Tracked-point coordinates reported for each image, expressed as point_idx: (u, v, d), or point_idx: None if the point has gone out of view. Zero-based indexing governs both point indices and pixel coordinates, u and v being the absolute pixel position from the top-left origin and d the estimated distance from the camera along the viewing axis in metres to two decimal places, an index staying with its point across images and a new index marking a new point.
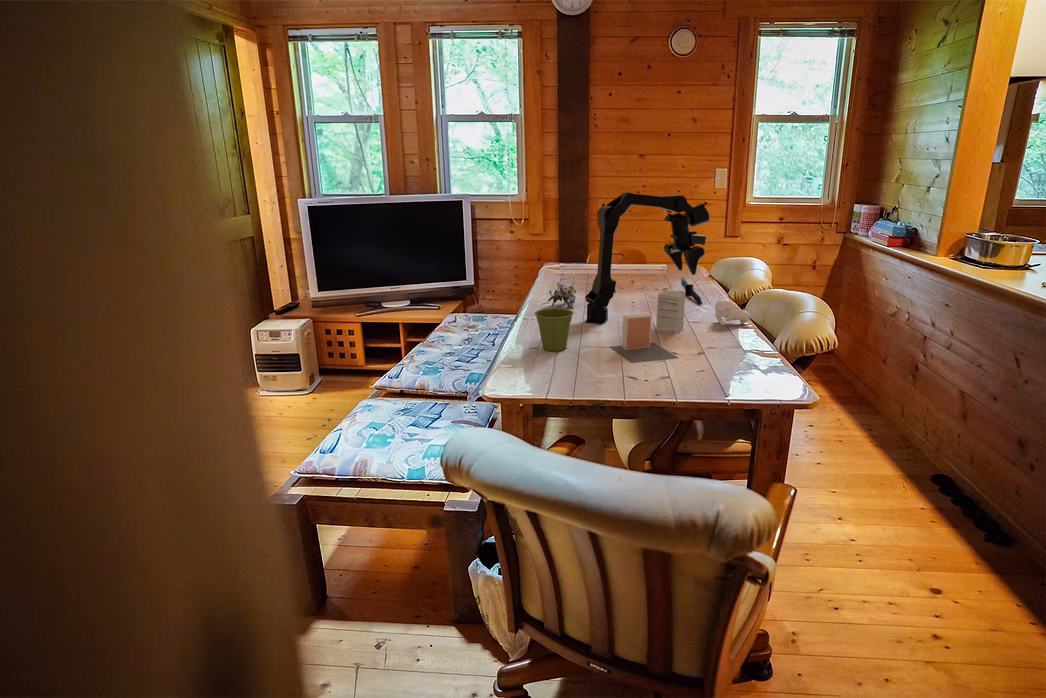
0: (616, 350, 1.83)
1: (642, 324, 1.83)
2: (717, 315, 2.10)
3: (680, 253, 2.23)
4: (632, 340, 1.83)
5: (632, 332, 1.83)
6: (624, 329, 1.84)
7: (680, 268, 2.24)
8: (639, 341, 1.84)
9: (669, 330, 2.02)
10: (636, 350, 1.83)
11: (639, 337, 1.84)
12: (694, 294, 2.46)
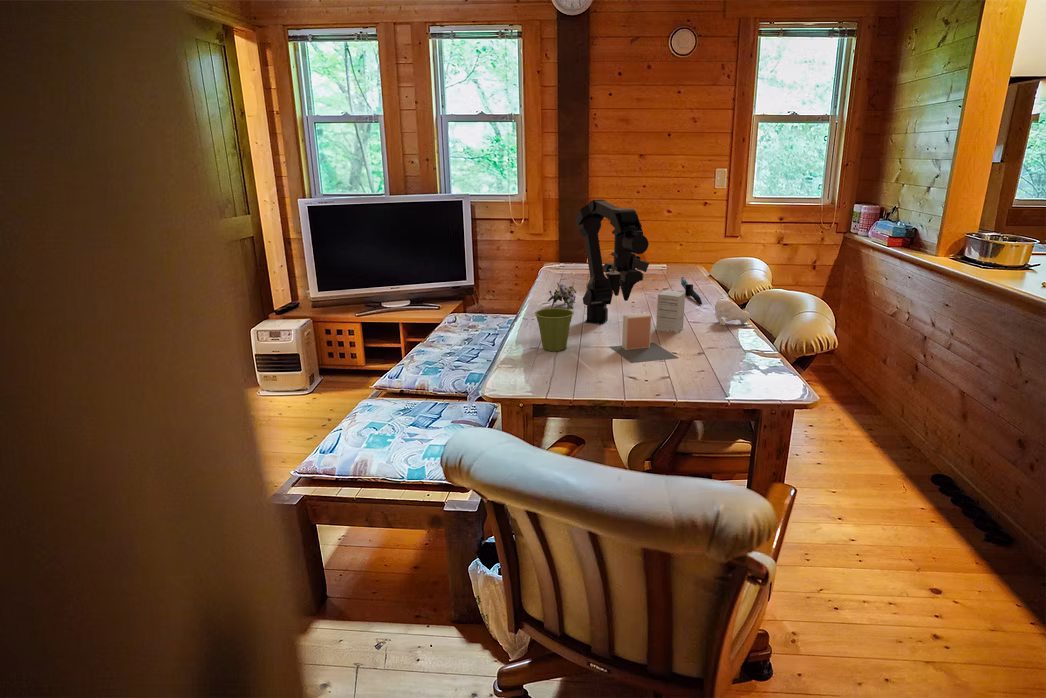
0: (616, 350, 1.83)
1: (642, 324, 1.83)
2: (717, 315, 2.10)
3: (620, 277, 2.00)
4: (632, 340, 1.83)
5: (632, 332, 1.83)
6: (624, 329, 1.84)
7: (616, 293, 2.01)
8: (639, 341, 1.84)
9: (669, 330, 2.02)
10: (636, 350, 1.83)
11: (639, 337, 1.84)
12: (694, 294, 2.46)
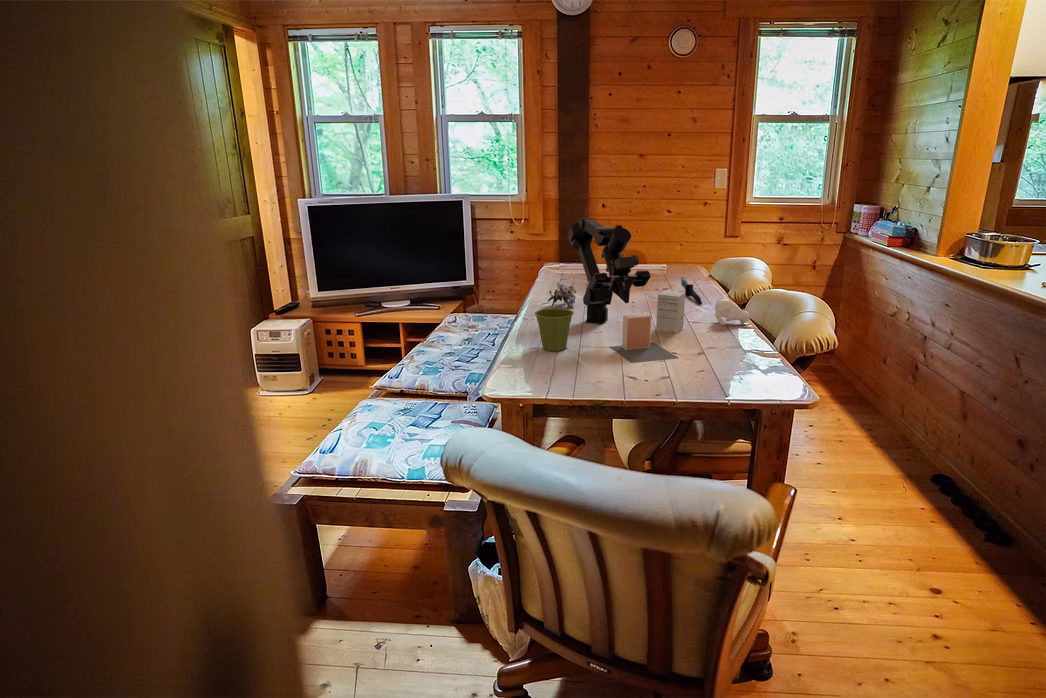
0: (616, 350, 1.83)
1: (642, 324, 1.83)
2: (717, 315, 2.10)
3: (625, 284, 1.92)
4: (632, 340, 1.83)
5: (632, 332, 1.83)
6: (624, 329, 1.84)
7: None
8: (639, 341, 1.84)
9: (669, 330, 2.02)
10: (636, 350, 1.83)
11: (639, 337, 1.84)
12: (694, 294, 2.46)
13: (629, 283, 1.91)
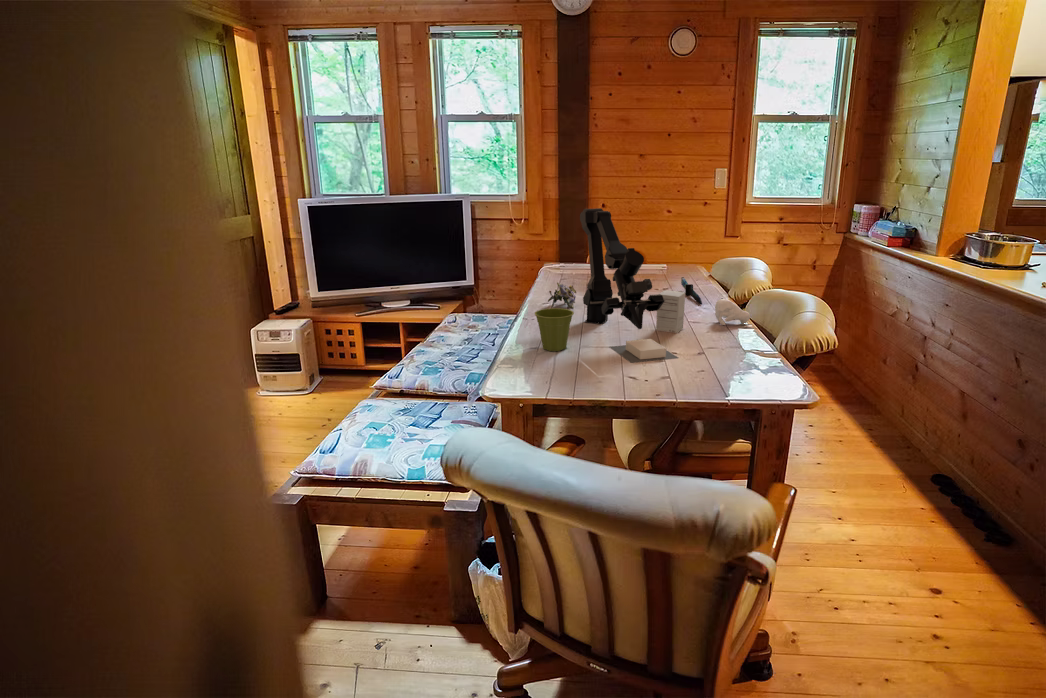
0: (616, 350, 1.83)
1: None
2: (717, 315, 2.10)
3: (638, 309, 1.85)
4: None
5: None
6: (634, 350, 1.78)
7: None
8: None
9: (669, 330, 2.02)
10: None
11: None
12: (694, 294, 2.46)
13: (642, 308, 1.84)
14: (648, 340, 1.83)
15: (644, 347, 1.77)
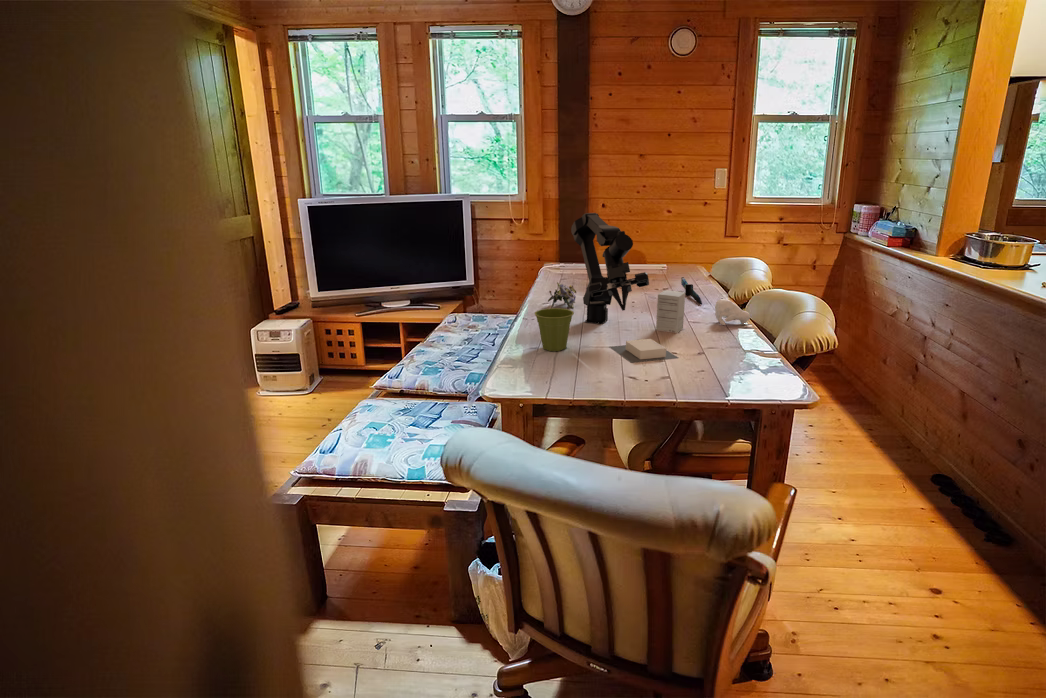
0: (616, 350, 1.83)
1: None
2: (717, 315, 2.10)
3: None
4: None
5: None
6: (634, 350, 1.78)
7: None
8: None
9: (669, 330, 2.02)
10: None
11: None
12: (694, 294, 2.46)
13: (625, 290, 1.91)
14: (648, 340, 1.83)
15: (644, 347, 1.77)
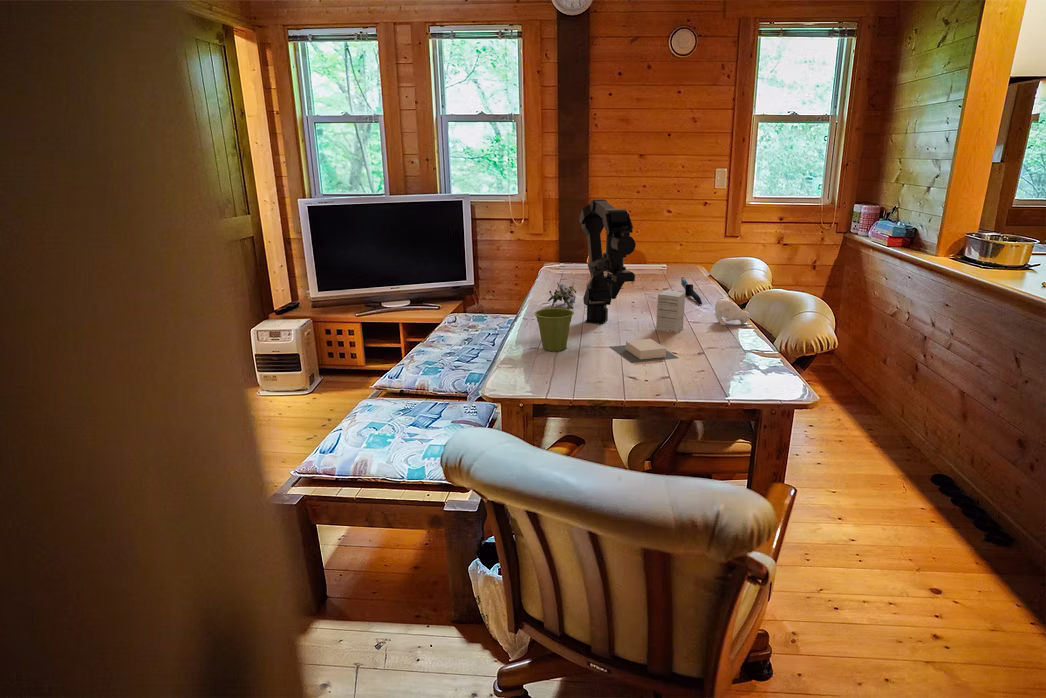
0: (616, 350, 1.83)
1: None
2: (717, 315, 2.10)
3: None
4: None
5: None
6: (634, 350, 1.78)
7: None
8: None
9: (669, 330, 2.02)
10: None
11: None
12: (694, 294, 2.46)
13: (610, 282, 1.93)
14: (648, 340, 1.83)
15: (644, 347, 1.77)
